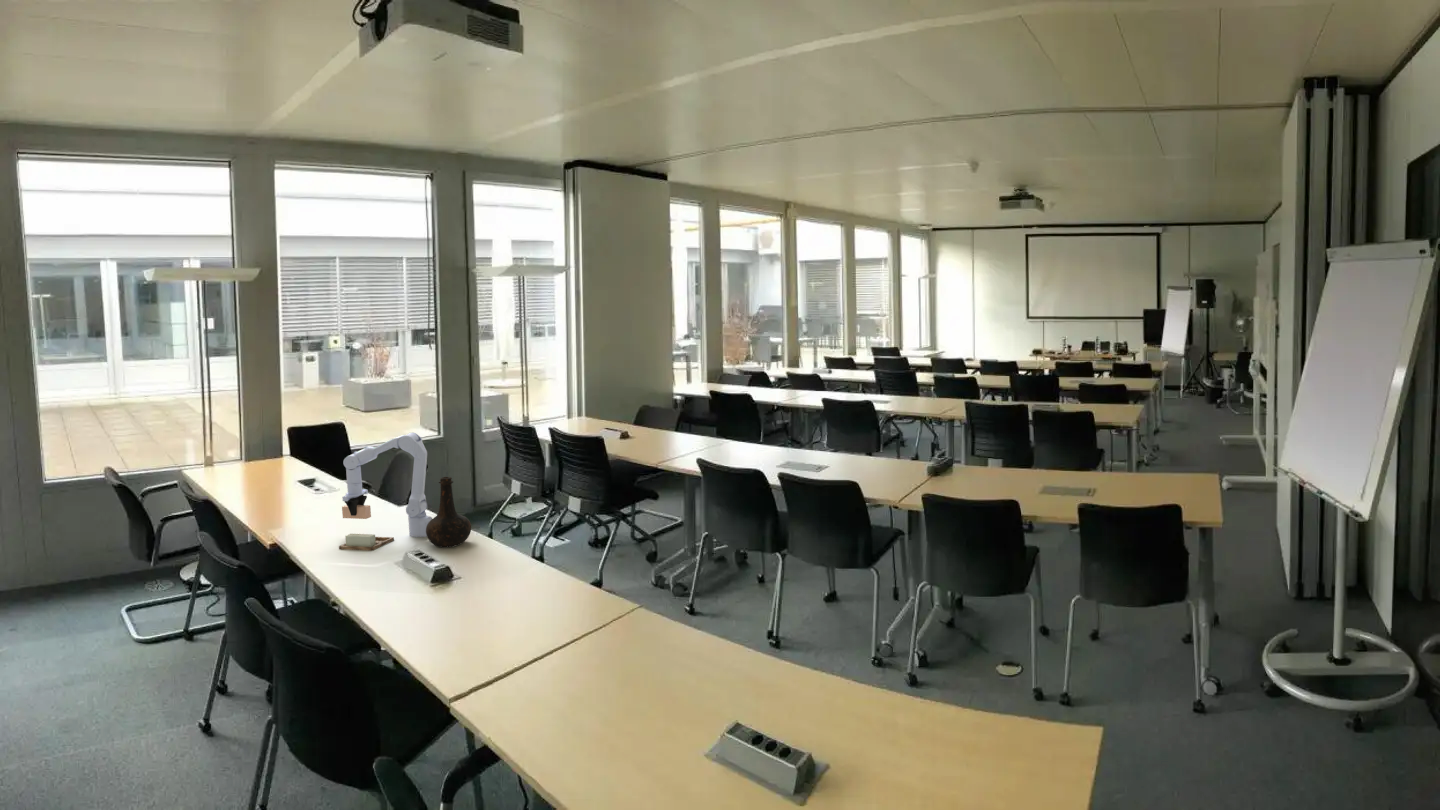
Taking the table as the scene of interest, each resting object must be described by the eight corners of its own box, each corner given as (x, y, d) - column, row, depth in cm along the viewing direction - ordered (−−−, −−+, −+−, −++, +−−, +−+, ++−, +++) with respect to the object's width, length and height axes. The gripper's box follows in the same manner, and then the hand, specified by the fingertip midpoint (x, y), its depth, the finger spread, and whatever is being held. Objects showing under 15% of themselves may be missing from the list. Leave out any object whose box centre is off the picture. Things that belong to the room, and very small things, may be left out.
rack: (394, 542, 355) (393, 537, 354) (372, 552, 340) (372, 547, 340) (361, 540, 358) (361, 536, 357) (339, 550, 343) (338, 546, 343)
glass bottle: (442, 553, 337) (437, 484, 333) (418, 545, 348) (413, 478, 345) (480, 543, 350) (477, 476, 347) (456, 536, 362) (452, 471, 358)
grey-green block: (375, 546, 346) (375, 534, 345) (370, 548, 342) (369, 536, 342) (351, 545, 348) (350, 533, 347) (346, 547, 344) (345, 535, 344)
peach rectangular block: (371, 516, 361) (370, 505, 361) (366, 518, 358) (365, 507, 357) (347, 516, 364) (347, 504, 363) (342, 518, 360) (341, 506, 360)
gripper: (356, 478, 367) (358, 509, 369) (335, 486, 353) (337, 518, 354) (371, 479, 365) (373, 510, 367) (350, 486, 351) (352, 518, 353)
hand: (356, 514), depth 361 cm, fingers closed on peach rectangular block, 3 cm apart
